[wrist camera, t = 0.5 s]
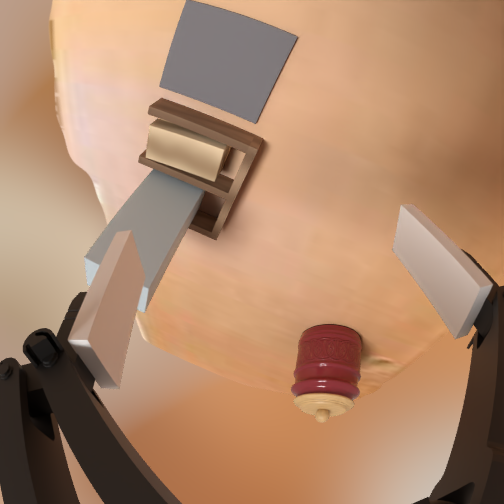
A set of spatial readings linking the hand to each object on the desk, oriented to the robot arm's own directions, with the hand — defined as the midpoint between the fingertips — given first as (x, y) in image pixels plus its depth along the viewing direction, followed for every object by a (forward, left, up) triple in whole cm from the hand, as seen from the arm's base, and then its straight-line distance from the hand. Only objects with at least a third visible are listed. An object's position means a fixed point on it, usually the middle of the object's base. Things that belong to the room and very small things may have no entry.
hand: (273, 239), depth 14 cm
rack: (+14, -9, -22) cm, 27 cm away
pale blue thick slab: (+17, -10, -22) cm, 29 cm away
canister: (+38, +27, -22) cm, 51 cm away
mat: (-1, -10, -22) cm, 24 cm away
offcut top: (+10, -10, -20) cm, 25 cm away
